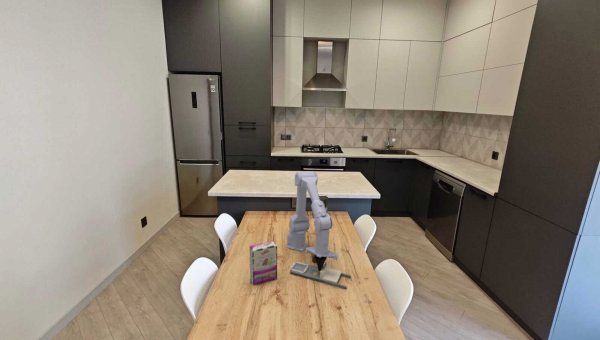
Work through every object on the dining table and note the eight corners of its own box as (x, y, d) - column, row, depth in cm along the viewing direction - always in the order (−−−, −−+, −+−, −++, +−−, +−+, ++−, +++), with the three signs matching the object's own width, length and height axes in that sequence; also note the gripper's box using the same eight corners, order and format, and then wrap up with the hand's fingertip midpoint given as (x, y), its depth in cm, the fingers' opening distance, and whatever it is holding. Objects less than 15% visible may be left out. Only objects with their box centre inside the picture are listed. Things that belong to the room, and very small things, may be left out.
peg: (310, 262, 138) (311, 251, 137) (313, 258, 141) (313, 247, 140) (317, 263, 137) (318, 252, 135) (320, 260, 140) (320, 249, 138)
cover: (319, 279, 123) (320, 270, 122) (325, 268, 131) (326, 260, 129) (336, 283, 120) (337, 274, 119) (341, 273, 128) (342, 264, 127)
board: (288, 273, 128) (289, 269, 128) (296, 263, 136) (296, 259, 136) (346, 289, 119) (346, 285, 118) (350, 277, 127) (351, 273, 126)
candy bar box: (273, 272, 128) (273, 240, 124) (277, 279, 124) (278, 245, 120) (249, 279, 123) (249, 245, 119) (253, 285, 119) (252, 250, 115)
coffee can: (326, 220, 188) (327, 200, 184) (311, 218, 189) (312, 198, 186) (327, 214, 198) (328, 195, 194) (312, 212, 199) (313, 193, 196)
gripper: (303, 242, 122) (302, 270, 126) (335, 250, 117) (333, 278, 120) (309, 236, 129) (307, 262, 132) (339, 242, 124) (337, 270, 127)
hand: (320, 269), depth 127 cm, fingers closed
